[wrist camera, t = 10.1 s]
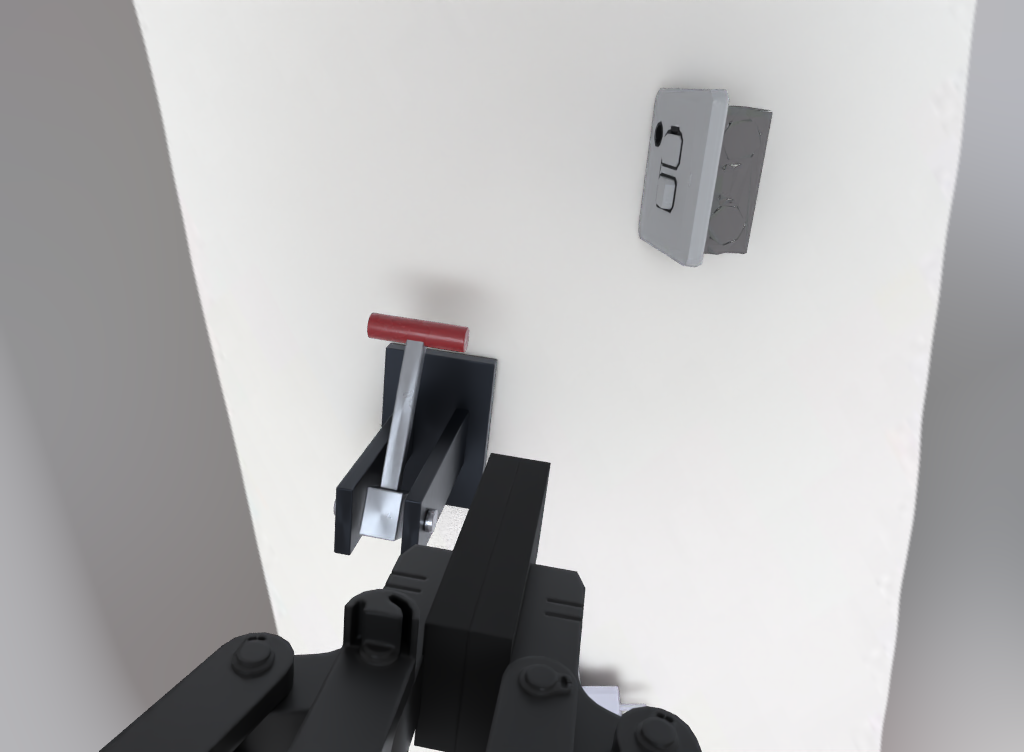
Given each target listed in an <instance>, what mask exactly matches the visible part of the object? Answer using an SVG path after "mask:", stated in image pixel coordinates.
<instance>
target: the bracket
mask: <svg viewBox="0 0 1024 752" xmlns="http://www.w3.org/2000/svg"><path fill="white" fill-rule="evenodd" d="M405 346H406V345H400V344H394V343H390V344H389V345H388V346H387V347H386V357H385V375H384V393H383V411H382V428H381V429H380V431H379V432H378V433H377V435H376V436H375V437H374V439H373V440H372V441H371V443H370V444H369V445H368V447H367V448H366V449H365V451H364V452H363V453H362V455H361V456H360V457H359V459H358V460H357V461H356V463H355V464H354V465H353V467H352V468H351V469H350V470H349V472H348V473H347V474H346V476H345V477H344V478H343V480H342V481H341V482H340V484H339V485H338V486H337V488H336V500H335V504H334V515H335V544H334V552H335V553H340V554H345V555H350V554H351V553H352V551H353V549H354V548H355V546H356V544H357V543H358V541H359V540H360V538H361V536H362V535H360V534H359V530H360V525H361V519H362V514H363V508H364V503H365V497H366V492H367V488H368V487H372V486H380V483H381V477H382V472H383V466H384V461H385V455H386V450H387V444H388V439H389V433H390V428H391V423H392V417H393V412H394V406H395V401H396V395H397V390H398V384H399V379H400V373H401V368H402V362H403V357H404V351H405ZM496 368H497V360H496V359H490V358H484V357H477V356H471V355H464V354H458V353H452V352H445V351H439V350H432V349H426V352H425V358H424V363H423V369H422V374H421V380H420V386H419V391H418V397H417V402H416V408H415V413H414V419H413V425H412V430H411V436H410V441H409V447H408V452H407V458H406V463H405V469H404V475H403V480H402V486H401V490H406V491H409V493H408V495H407V497H406V498H405V501H404V515H403V529H402V543H401V554H403V553H404V552H405V551H407V550H408V549H410V548H411V547H412V546H414V545H415V544H418V545H424V546H426V545H427V543H428V541H429V538H430V536H431V534H432V533H433V532H434V529H435V526H436V523H437V521H438V519H439V516H440V514H441V512H442V510H443V508H444V505H451V506H456V507H462V508H468V509H469V508H470V506H471V503H472V501H473V498H474V496H475V493H476V490H477V488H478V485H479V483H480V480H481V478H482V475H483V473H484V470H485V465H486V456H487V448H488V439H489V430H490V421H491V412H492V403H493V394H494V385H495V376H496Z"/></svg>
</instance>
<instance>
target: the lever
mask: <svg viewBox="0 0 1024 752" xmlns="http://www.w3.org/2000/svg"><path fill="white" fill-rule="evenodd" d="M367 333H368V337H369V338H374V339H380V340H386V341H393V342H399V343H406V346H405V351H404V357H403V362H402V368H401V373H400V379H399V384H398V390H397V395H396V401H395V406H394V412H393V417H392V423H391V428H390V433H389V439H388V444H387V450H386V455H385V461H384V466H383V472H382V477H381V483H380V486H372V487H368V488H367V492H366V497H365V503H364V508H363V514H362V519H361V525H360V530H359V534H360V535H364V536H369V537H374V538H380V539H385V540H391V541H395V540H398V539H400V538H402V529H403V515H404V501H405V498H406V497H407V495H408V493H409V491H406V490H401V486H402V480H403V475H404V469H405V463H406V458H407V452H408V447H409V441H410V436H411V430H412V425H413V419H414V413H415V408H416V402H417V397H418V391H419V386H420V380H421V374H422V369H423V363H424V358H425V352H426V347H431V348H438V349H444V350H450V351H457V352H463V353H464V352H465V351H466V349H467V345H468V340H469V328H468V327H463V326H457V325H450V324H444V323H437V322H431V321H424V320H418V319H411V318H404V317H398V316H391V315H385V314H378V313H372V314H371V315H370V318H369V321H368V327H367Z"/></svg>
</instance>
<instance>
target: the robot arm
mask: <svg viewBox="0 0 1024 752" xmlns="http://www.w3.org/2000/svg"><path fill="white" fill-rule="evenodd" d="M550 464H551V463H548V462H542V461H536V460H530V459H524V458H518V457H512V456H506V455H500V454H494V453H491V455H490V457H489V460H488V462H487V465H486V467H485V470H484V473H483V475H482V478H481V480H480V483H479V485H478V488H477V490H476V493H475V496H474V498H473V501H472V503H471V506H470V508H469V511H468V514H467V516H466V519H465V521H464V524H463V526H462V529H461V531H460V534H459V537H458V539H457V542H456V544H455V547H454V549H453V551H451V550H446V549H440V548H435V547H429V546H424V545H418V544H415V545H414V546H412V547H411V548H410V549H408V550H407V551H405V552H404V553H403V554H401V555H400V556H399V558H398V560H397V562H396V564H395V566H394V568H393V570H392V573H391V574H390V576H389V578H388V580H387V582H386V585H385V586H384V588H383V589H376V590H370V591H365V592H363V593H361V594H359V595H357V596H355V597H353V598H352V599H351V600H350V601H349V602H348V603H347V604H346V605H345V611H344V636H343V646H342V648H340V649H338V650H335V651H331V652H328V653H320V654H307V655H294V651H293V649H292V647H291V645H290V643H289V642H288V641H286V640H285V639H283V638H282V637H280V636H278V635H274V634H269V633H249V634H246V635H242V636H239V637H236V638H234V639H232V640H230V641H229V642H227V643H226V644H224V645H222V646H221V647H220V648H219V649H218V650H217V651H215V652H214V653H213V654H212V655H211V656H210V657H208V658H207V659H206V660H205V661H204V662H203V663H201V664H200V665H199V666H198V667H197V668H196V669H194V670H193V671H192V672H191V673H190V674H189V675H187V676H186V677H185V678H184V679H183V680H182V681H180V682H179V683H178V684H177V685H176V686H175V687H173V688H172V689H171V690H170V691H169V692H168V693H167V694H165V695H164V696H163V697H162V698H161V699H159V700H158V701H157V702H156V703H155V704H154V705H152V706H151V707H150V708H149V709H148V710H147V711H146V712H144V713H143V714H142V715H141V716H140V717H138V718H137V719H136V720H135V721H134V722H133V723H132V724H130V725H129V726H128V727H127V728H126V729H124V730H123V731H122V732H121V733H120V734H119V735H118V736H117V737H115V738H114V739H113V740H112V741H111V742H109V743H108V744H107V745H106V746H105V747H103V748H102V749H101V750H100V751H99V752H408V749H409V746H410V743H411V740H412V737H413V734H414V732H415V740H414V745H415V746H420V747H424V748H429V749H434V750H439V751H444V752H702V751H701V748H700V746H699V743H698V741H697V738H696V737H695V735H694V733H693V732H692V730H691V729H690V727H689V726H688V725H687V724H686V723H685V722H684V721H682V720H681V719H680V718H679V717H678V716H676V715H674V714H672V713H670V712H668V711H666V710H664V709H661V708H655V707H649V706H644V707H637V708H632V709H631V710H629V711H627V712H626V713H624V714H623V715H622V716H619V715H617V714H615V713H613V712H611V711H609V710H607V709H605V708H604V707H602V706H600V705H599V704H597V703H596V702H595V701H594V700H592V699H591V698H590V697H589V696H588V695H587V693H586V692H585V691H584V689H583V688H582V686H581V683H580V681H579V676H578V665H579V654H580V643H581V632H582V619H583V609H584V608H583V607H584V598H585V587H584V585H583V583H582V581H581V579H580V577H579V575H578V573H577V572H576V571H570V570H565V569H559V568H554V567H548V566H543V565H537V564H535V563H536V558H537V552H538V545H539V539H540V532H541V525H542V518H543V511H544V505H545V498H546V491H547V484H548V477H549V471H550Z"/></svg>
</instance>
